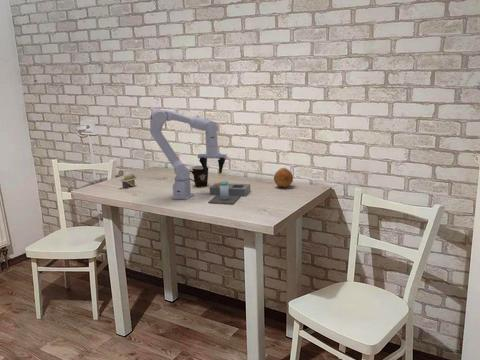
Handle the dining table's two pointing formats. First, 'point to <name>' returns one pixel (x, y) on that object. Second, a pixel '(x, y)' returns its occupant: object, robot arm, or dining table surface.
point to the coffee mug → (200, 176)
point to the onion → (283, 177)
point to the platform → (128, 181)
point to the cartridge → (224, 190)
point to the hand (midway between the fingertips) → (213, 172)
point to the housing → (232, 189)
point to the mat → (218, 201)
